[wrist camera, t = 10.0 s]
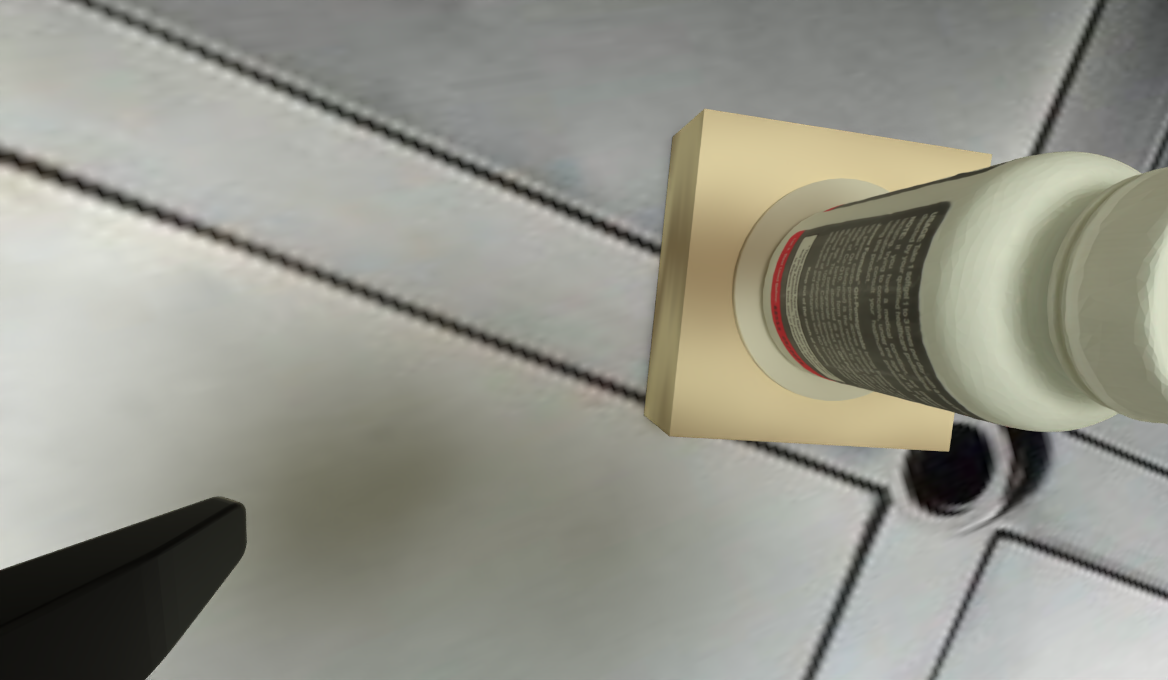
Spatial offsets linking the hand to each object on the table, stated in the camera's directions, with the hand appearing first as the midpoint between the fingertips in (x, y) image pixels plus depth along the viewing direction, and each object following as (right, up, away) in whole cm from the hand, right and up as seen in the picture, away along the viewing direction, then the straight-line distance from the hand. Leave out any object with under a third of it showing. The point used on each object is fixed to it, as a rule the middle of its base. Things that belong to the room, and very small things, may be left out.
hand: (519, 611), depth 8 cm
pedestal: (+9, +6, +12) cm, 16 cm away
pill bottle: (+9, +5, +9) cm, 14 cm away
